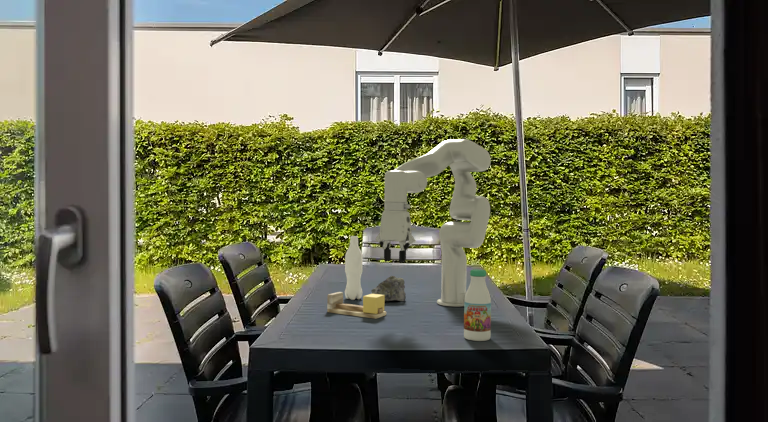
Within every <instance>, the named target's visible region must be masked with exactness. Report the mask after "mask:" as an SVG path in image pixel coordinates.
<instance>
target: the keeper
mask: <svg viewBox="0 0 768 422" xmlns="http://www.w3.org/2000/svg"><path fill="white" fill-rule="evenodd" d="M385 302H386V301H385V295H380V294H372V293H369V294H366V295H362V306H363V312H365V313H373V314H377V313H378V309H379V308H383V311H385V305H386V303H385Z"/></svg>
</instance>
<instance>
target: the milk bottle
mask: <svg viewBox="0 0 768 422" xmlns="http://www.w3.org/2000/svg"><path fill="white" fill-rule="evenodd" d="M469 277H470V282H469V285H468V287H467V289H466V295H465V303H464V306H463V307H464V308H463V309H464V311H463V338H464V339H466V340H468V341H474V342H486V341H489V340H490V339H491V336H492V335H491V333H492V332H491V331H492V330H491V328H492V299H491V294H490V292H489V289H488V286H487V283H486V278H487V271H486V270H485V269H470V271H469Z"/></svg>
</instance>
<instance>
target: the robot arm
mask: <svg viewBox="0 0 768 422" xmlns="http://www.w3.org/2000/svg"><path fill="white" fill-rule="evenodd" d="M491 162H492V159H491V155H490V153H489V152H488V150H487V149H485V148H484V147H482V146H480V145H479V144H477V143H476V142H474V141H472V140H470V139H467V138H462V139H461V138H460V139H447V140H443V141H442V142H440V143H439V144H437V145H436V146H435V147H433V148H432V149H431V150H430V151H428V152H427V153H426V154H423V155H422V156H418V157H416V158H414V159H411V160H409V161H407V162H404V163H402V164H401V165H399V166H397V167H396V168H395V169H393V170H387V171H386V172H385V174H384V208H383V210H384V211H382V214H381V218H380V226H379V233H378V234H377V236H376V237H375V240H376V242H377V243H379V245H380V247H381V248H382V250H383V259H384V262H386V263H387V262H390V261H391V260H392V249H391V248H390V247H391V245H392V244H391V243H392V242H396V243H397V242H398V244H399V249H400V250H399V252H398V257H399V258H398V262H399V263H400V264H402V263H403V264H404V263H405V262H406V260H407V250H408V249H409V248H410V247H411V246H412V245H413V244H415V243H416V238H414V236H413V235H412V221H411V215H410V212H409V211H408V209H410V208H411V204H408V194H416V193H417V194H418V193H421V192H423V191H424V190H426V188H427V185H428V178H431V177H435V176H437V175H439V174H440V173H442V172H444V170H446V168H448V167H450V168H449V169H451V172H452V175H453V178H454V188H453V193H452V198H451V200H450V205H449V216H450V217H451V218H452V219H454V220H457V221H448V222H445V223H443V224H442V225H441V226H440V229H439V232H438V233H439V240H440V246H441V247H440V248H441V277H440V278H441V283H440V284H441V286H440V288H441V289H440V293H441V294H440V296H441V297H440V298H439V299H437V300H436V303H437V304H438V305H440V306H444V307H453V308H454V307H460V308H462V307H464V303H465V295H466V292H467V267H468V266H467V265H468V264H467V263H468V259H467V255H466V252H465V250H464V248H469V249H478V248H479V247H481V246H482V244H483V243H484V240H485V237H486V234H487V233H486V232H487V230H488V225H489V222H490V221H489V220H490V216H491V205H490V201H489V200H488V199H487V198H486V197H485V196H482V195H476V193H477V187H478V186H477V183H476V180H475V178H474V176H473V174H472V173H471V172H473V173H476V172H477V173H478V172H481V173H482V172H485V171H487V170H488V169H489V168H490V166H491ZM464 221H465V222H464ZM466 221H470V222H466Z"/></svg>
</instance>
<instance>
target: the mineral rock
mask: <svg viewBox="0 0 768 422" xmlns="http://www.w3.org/2000/svg"><path fill="white" fill-rule="evenodd" d="M405 288H406V286H405V279H404V278H402V277H396V276H394V275H390V276H389V277H387V278H386V279H385V280H383V281H381V282H380V283H378V285H376V287H374V288H372V289H371V290H370V291H371V294H380V295H385V302H392V301H398V302H405V301H406V297H407V296H406V292H405Z"/></svg>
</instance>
